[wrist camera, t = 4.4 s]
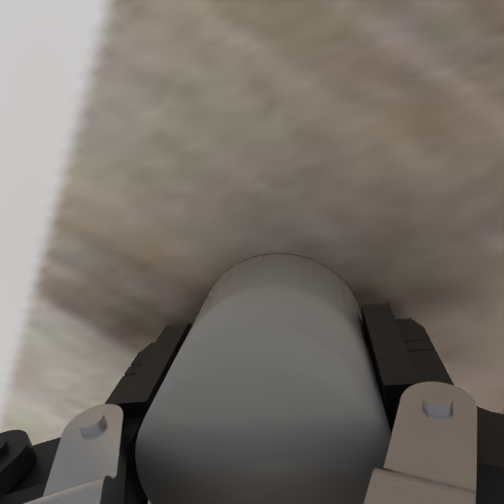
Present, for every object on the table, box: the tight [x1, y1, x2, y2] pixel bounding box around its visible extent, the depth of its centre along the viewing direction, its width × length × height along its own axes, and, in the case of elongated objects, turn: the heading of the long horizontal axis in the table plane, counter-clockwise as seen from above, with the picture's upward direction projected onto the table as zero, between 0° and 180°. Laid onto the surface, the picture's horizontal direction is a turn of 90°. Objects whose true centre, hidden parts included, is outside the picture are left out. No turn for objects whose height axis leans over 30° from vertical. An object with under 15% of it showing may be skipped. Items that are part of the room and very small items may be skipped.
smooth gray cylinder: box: [135, 254, 392, 504], centre depth 10 cm, size 5×5×6 cm
